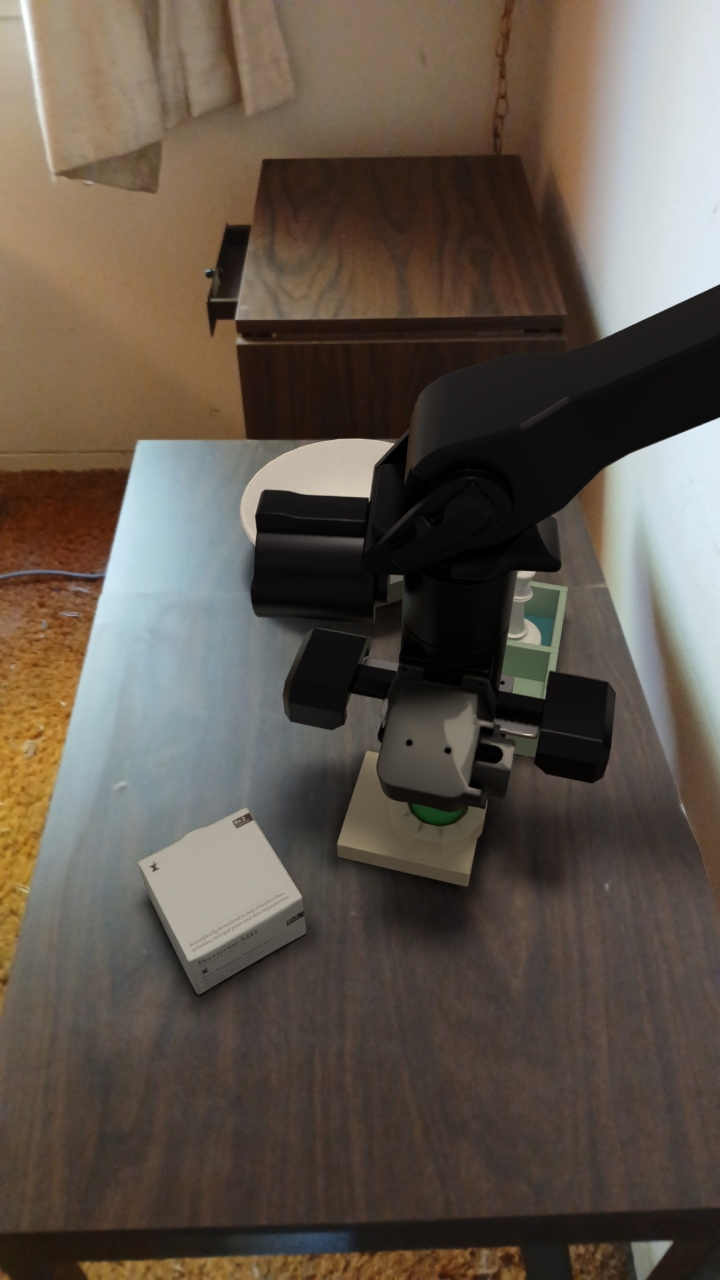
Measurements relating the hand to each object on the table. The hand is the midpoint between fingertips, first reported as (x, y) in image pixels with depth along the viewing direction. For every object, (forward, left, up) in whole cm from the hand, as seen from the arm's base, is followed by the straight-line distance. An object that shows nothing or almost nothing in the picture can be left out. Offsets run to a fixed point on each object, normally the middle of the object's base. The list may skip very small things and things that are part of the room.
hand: (440, 781), depth 58 cm
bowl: (+13, -24, -6) cm, 28 cm away
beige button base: (+2, 0, -6) cm, 6 cm away
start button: (0, 0, -2) cm, 2 cm away
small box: (+12, +10, -6) cm, 16 cm away
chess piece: (-3, -18, -5) cm, 19 cm away
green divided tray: (-2, -15, -6) cm, 16 cm away
